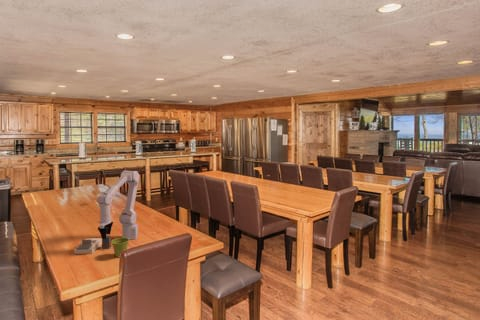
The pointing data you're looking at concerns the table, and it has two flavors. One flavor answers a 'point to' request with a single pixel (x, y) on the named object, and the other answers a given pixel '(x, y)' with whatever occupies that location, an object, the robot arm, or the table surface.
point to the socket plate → (95, 244)
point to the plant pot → (119, 245)
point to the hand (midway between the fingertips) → (106, 236)
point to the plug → (106, 242)
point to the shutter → (85, 244)
